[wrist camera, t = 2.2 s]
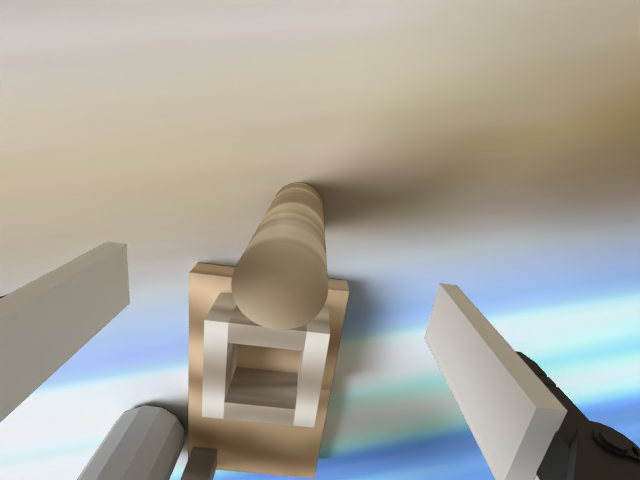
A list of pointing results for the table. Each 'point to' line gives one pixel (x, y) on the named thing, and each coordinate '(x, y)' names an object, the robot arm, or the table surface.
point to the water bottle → (138, 447)
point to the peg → (285, 262)
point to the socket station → (256, 382)
